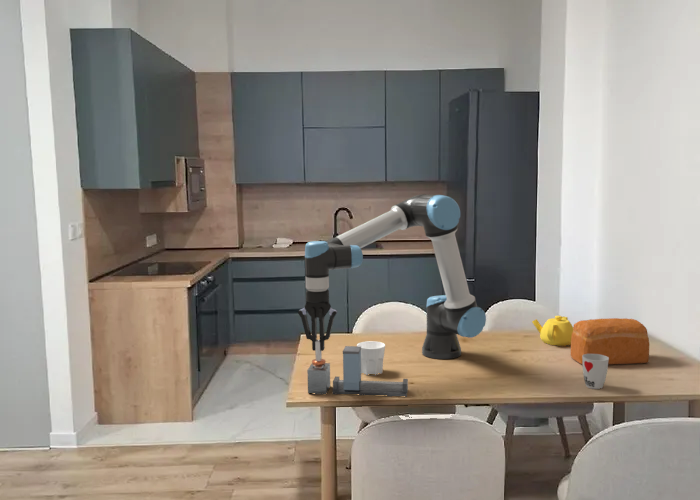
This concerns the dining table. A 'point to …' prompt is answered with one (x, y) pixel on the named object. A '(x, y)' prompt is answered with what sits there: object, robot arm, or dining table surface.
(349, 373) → the grey rectangular block
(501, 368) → the dining table surface
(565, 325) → the teapot
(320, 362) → the plunger
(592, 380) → the cup
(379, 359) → the cup
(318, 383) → the gauge cabinet
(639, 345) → the bread
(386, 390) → the rail
